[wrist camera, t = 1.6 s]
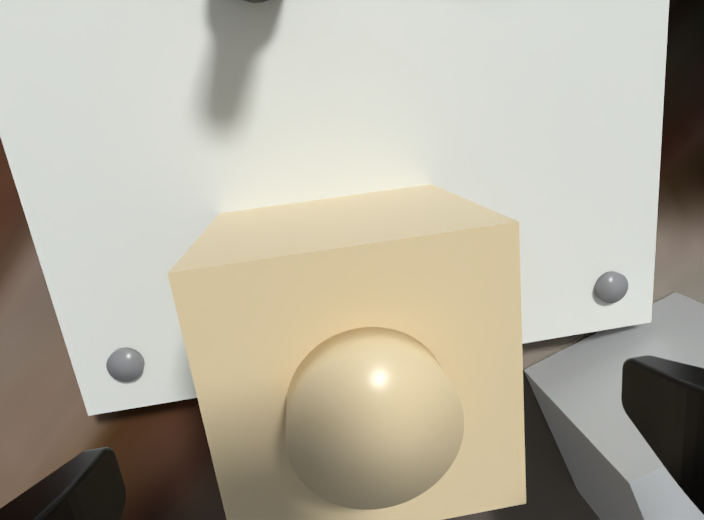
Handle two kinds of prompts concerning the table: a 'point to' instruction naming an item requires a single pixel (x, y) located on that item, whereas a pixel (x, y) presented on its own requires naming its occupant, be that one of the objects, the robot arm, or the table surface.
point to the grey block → (617, 413)
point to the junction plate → (324, 146)
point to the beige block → (359, 356)
